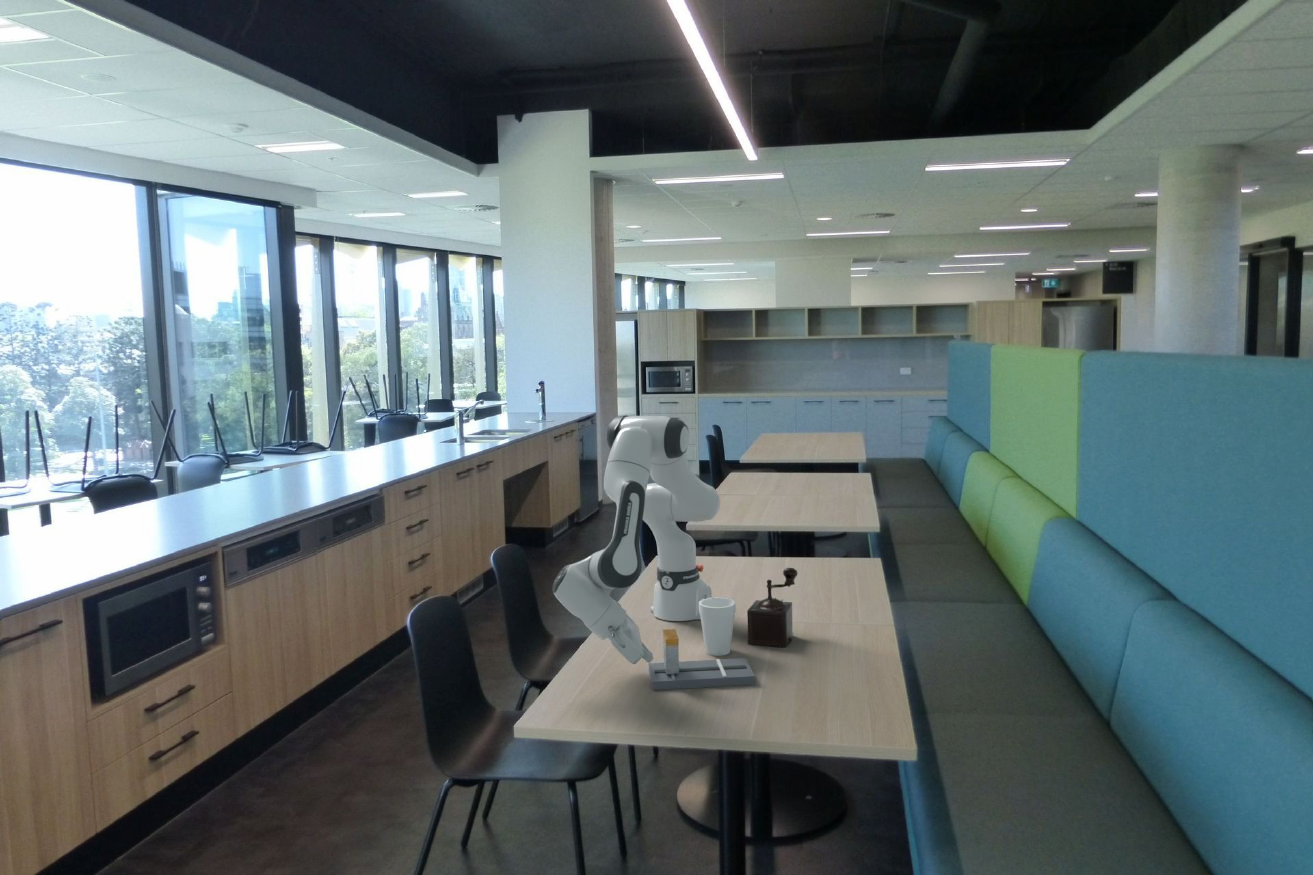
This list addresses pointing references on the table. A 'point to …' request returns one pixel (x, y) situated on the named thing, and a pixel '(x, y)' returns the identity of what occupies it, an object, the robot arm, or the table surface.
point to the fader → (671, 651)
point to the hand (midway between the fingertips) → (651, 658)
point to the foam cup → (717, 624)
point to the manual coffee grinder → (772, 617)
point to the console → (702, 674)
